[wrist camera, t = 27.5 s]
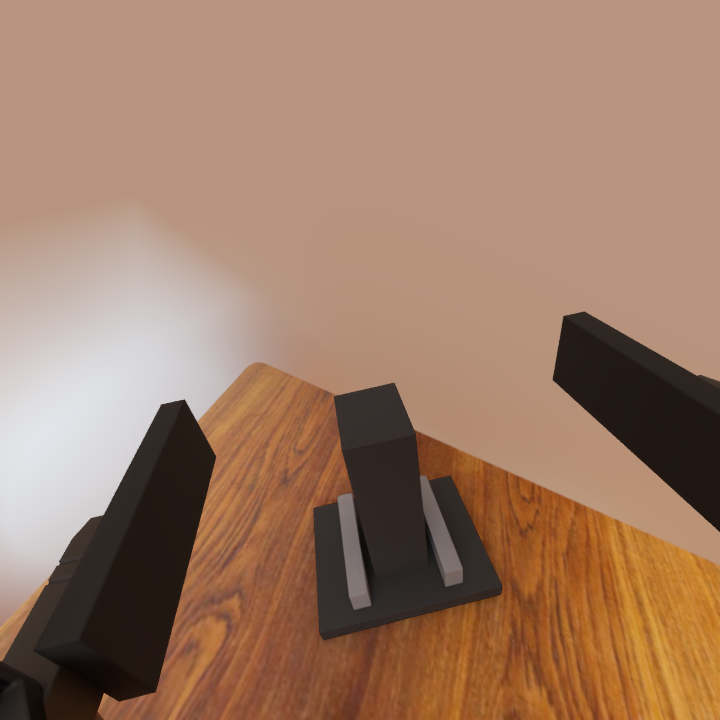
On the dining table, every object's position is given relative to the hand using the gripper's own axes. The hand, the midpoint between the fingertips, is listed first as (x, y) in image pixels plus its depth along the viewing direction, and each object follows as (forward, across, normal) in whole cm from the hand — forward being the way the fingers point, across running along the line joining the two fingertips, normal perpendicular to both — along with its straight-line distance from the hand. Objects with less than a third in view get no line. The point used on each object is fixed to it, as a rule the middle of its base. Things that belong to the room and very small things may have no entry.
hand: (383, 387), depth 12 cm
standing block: (+10, 0, -26) cm, 28 cm away
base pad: (+10, 0, -28) cm, 30 cm away
